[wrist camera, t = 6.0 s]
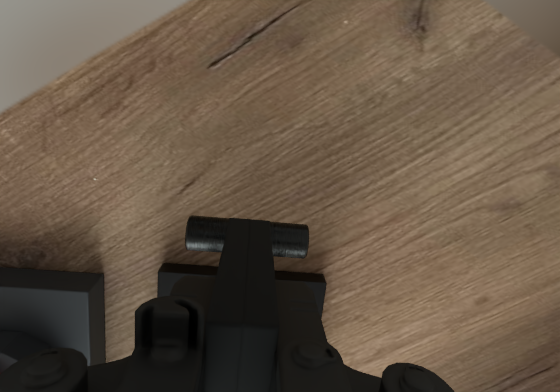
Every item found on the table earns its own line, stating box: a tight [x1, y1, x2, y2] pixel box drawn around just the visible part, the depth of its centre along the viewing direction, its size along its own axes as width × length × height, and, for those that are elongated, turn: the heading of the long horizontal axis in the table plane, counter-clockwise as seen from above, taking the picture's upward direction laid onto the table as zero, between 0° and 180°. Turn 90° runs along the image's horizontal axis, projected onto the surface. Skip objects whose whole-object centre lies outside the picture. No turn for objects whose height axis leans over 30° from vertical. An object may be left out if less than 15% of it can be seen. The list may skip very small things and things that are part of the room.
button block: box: [0, 267, 105, 373], centre depth 22 cm, size 12×9×4 cm
